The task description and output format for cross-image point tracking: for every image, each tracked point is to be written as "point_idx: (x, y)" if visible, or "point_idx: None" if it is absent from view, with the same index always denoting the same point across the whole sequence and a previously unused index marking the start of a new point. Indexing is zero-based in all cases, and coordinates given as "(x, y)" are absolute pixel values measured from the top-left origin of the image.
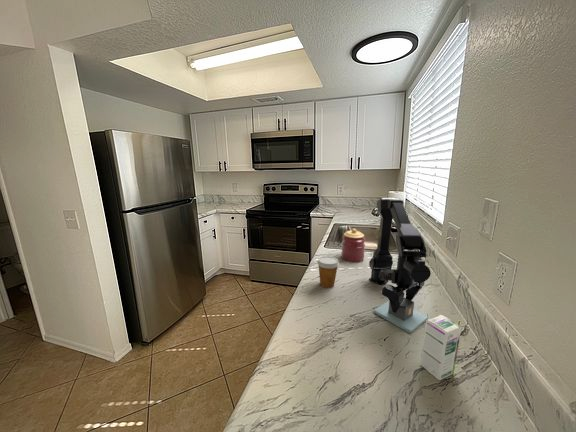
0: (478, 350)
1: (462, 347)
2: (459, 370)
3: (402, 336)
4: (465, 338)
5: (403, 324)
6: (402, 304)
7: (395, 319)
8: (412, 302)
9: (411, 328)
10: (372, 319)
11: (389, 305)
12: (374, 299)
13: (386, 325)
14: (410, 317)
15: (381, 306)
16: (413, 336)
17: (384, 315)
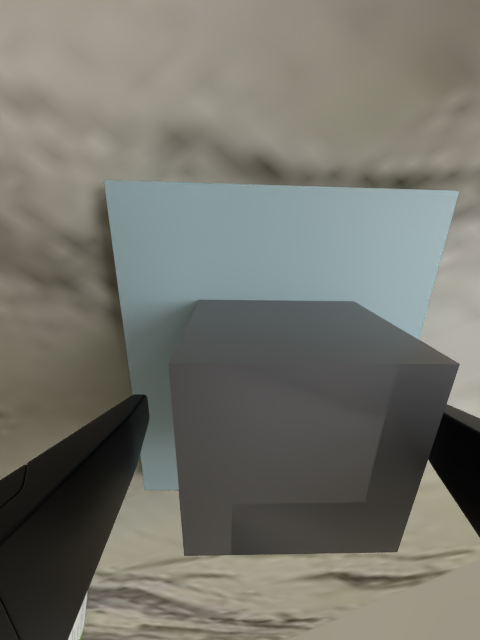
0: (293, 627)
1: (263, 602)
2: (121, 626)
3: None
4: (336, 594)
5: (160, 440)
6: (227, 508)
7: (161, 385)
8: (372, 544)
9: (169, 481)
10: (24, 245)
11: (187, 332)
12: (347, 20)
13: (75, 355)
14: None
15: (233, 198)
16: (142, 487)
17: (126, 304)
